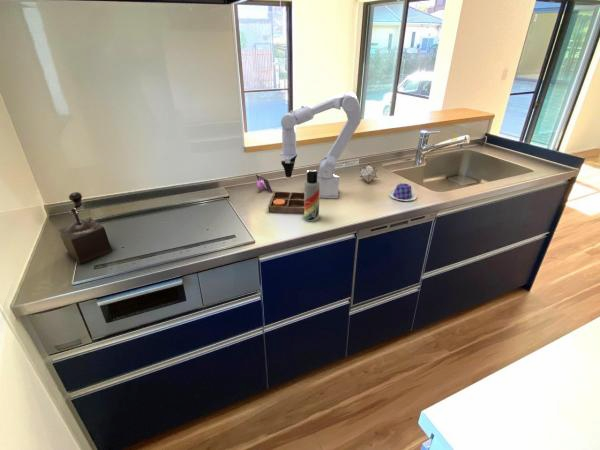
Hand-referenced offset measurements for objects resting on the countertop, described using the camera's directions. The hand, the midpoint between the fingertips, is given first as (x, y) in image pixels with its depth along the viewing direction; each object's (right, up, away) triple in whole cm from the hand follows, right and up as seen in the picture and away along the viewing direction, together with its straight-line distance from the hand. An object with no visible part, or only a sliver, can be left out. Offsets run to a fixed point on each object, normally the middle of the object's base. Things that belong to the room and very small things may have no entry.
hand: (289, 173), depth 151 cm
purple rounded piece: (-13, -7, +8) cm, 16 cm away
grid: (0, -14, -6) cm, 15 cm away
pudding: (+50, -10, +2) cm, 51 cm away
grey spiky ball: (+37, -2, +17) cm, 41 cm away
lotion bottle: (+9, -20, -16) cm, 27 cm away
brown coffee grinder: (-67, -31, -34) cm, 82 cm away
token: (-4, -15, -9) cm, 18 cm away
